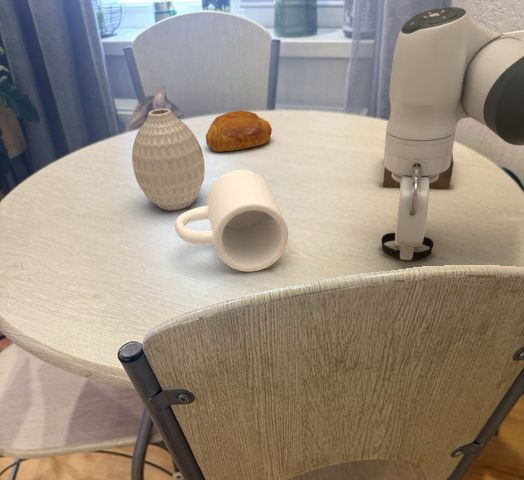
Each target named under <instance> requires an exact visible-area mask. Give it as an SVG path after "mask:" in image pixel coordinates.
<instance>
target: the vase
mask: <svg viewBox="0 0 524 480" xmlns="http://www.w3.org/2000/svg"><path fill="white" fill-rule="evenodd" d="M131 162H132V169H133V174H134V177H135V180H136V182H137V184H138V187H139V189H140V190H141V191H142V192H143V193H144V195H145V197H147V199H148V200H150V202H152V203H153V204H154V205H155V206H157V207H158V208H159V209H161V210H163V211H169V212H171V211H172V212H173V211H175V212H176V211H181V210H183V209H187V208H188V207H190V206H191V205H192V204H193V203H194V202H195V200H196V198H197V197H198V196H199V194H200V191H201V189H202V186H203V184H204V180H205V174H206V173H205V172H206V170H205V168H206V166H205V159H204V153H203V149H202V146H201V144H200V142H199V141H198V139H197V137H196V135H195V134H194V132H193V131H192V130H191V128H190V127H189V126H188V125H186V123H184V122H183V121H182V120H181V119H180V118H178V117H177V116H175V115H174V114H173V111H172V110H171V109H169V108H157V109H152V110H150V111H149V112H147V118H146V120H145V121H144V122H143V124H142V125H141V126H140V128H139V130H138V131H137V133H136V136H135V139H134V141H133V147H132V152H131Z"/></svg>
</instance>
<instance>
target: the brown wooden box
mask: <svg viewBox="0 0 524 480" xmlns="http://www.w3.org/2000/svg"><path fill="white" fill-rule="evenodd" d="M453 168H454V153H453V151H452V157H451V163H450V167H449V168H448V169H447V170H446V171H444V172H442V173H439V178H438V179H437V180H436V181H434V182H432V183H429V189H437V190H438V189H439V190H441V189H442V190H449V189H450V187H451V186H450V185H451V180H452V173H453ZM383 172H384V173H383V182H382V186H383V188H400V182H397V181H396V180H394V179H393V178H392V172H391V171H389V170H388V169H386V168H385V167H384V171H383Z"/></svg>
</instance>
